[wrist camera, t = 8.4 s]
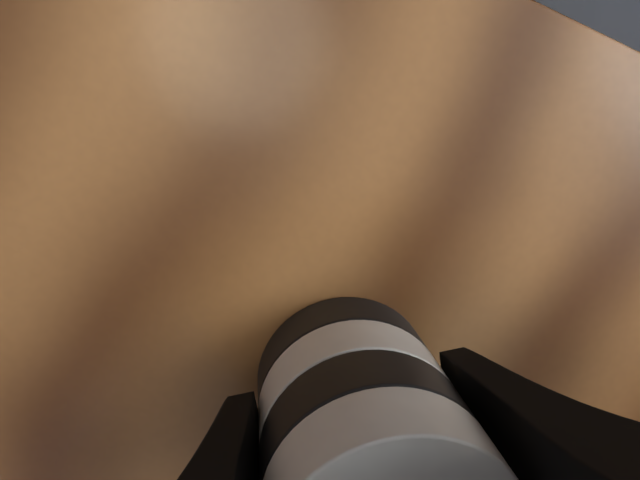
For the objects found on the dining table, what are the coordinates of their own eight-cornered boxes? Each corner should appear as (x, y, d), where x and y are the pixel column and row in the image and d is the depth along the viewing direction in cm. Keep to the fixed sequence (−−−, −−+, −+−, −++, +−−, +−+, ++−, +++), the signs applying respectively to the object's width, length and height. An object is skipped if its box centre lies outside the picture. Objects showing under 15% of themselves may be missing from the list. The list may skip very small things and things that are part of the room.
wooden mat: (812, 144, 14) (836, 146, 13) (497, 683, 18) (505, 702, 18) (46, -226, 10) (33, -246, 9) (-133, 587, 14) (-150, 608, 13)
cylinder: (451, 323, 13) (580, 472, 8) (386, 463, 14) (464, 677, 9) (292, 273, 12) (321, 403, 7) (234, 425, 13) (222, 639, 8)
